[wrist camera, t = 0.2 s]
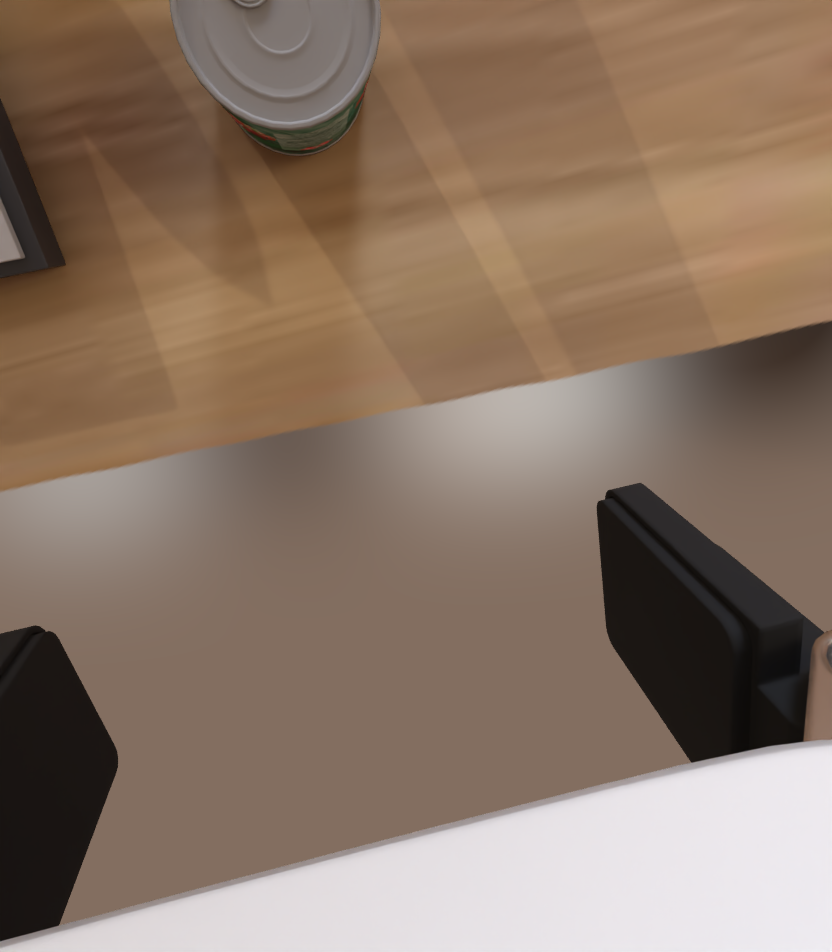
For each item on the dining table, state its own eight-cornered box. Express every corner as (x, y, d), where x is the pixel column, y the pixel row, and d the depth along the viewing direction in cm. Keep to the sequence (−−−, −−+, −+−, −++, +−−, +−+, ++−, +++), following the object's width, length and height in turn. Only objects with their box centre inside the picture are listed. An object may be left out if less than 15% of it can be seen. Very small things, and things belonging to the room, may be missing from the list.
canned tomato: (394, 76, 34) (423, 16, 24) (300, 187, 36) (291, 175, 26) (281, -56, 31) (261, -185, 21) (184, 72, 33) (123, 7, 23)
